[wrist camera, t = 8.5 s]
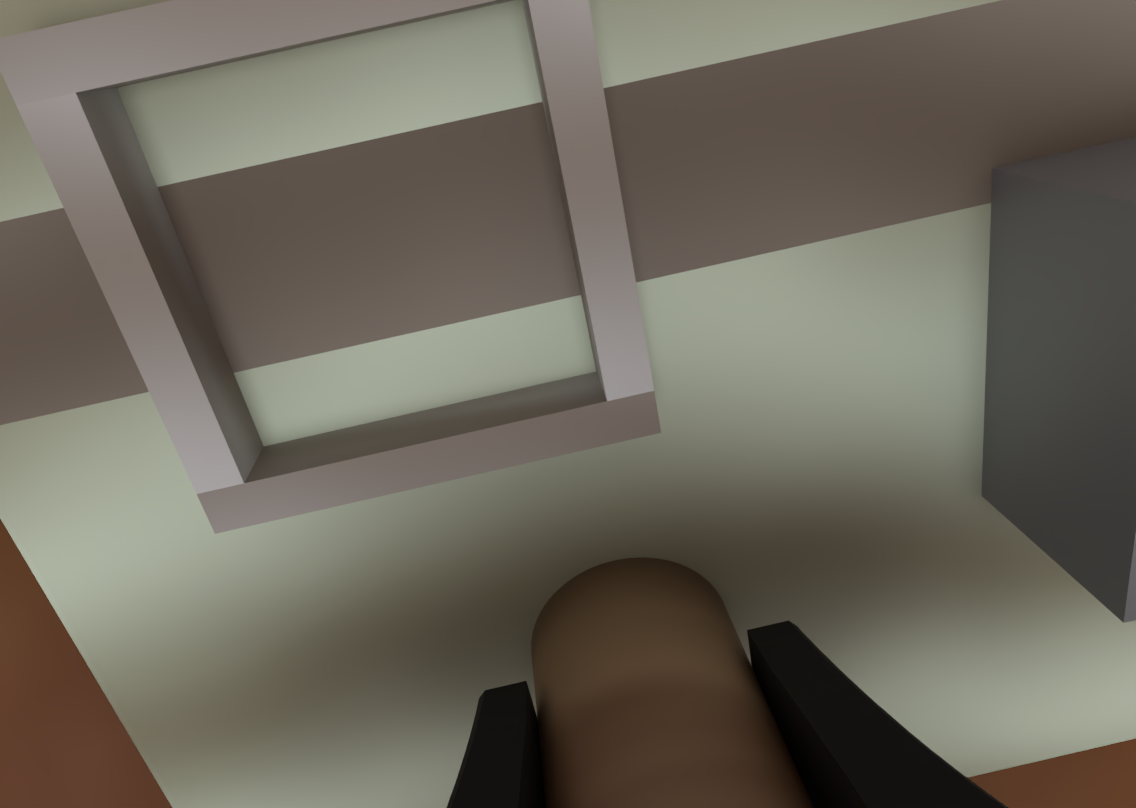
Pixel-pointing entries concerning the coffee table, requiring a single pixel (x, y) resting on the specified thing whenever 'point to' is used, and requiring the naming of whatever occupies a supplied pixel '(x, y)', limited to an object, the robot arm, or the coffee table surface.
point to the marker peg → (652, 697)
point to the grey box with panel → (1066, 363)
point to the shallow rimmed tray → (524, 357)
